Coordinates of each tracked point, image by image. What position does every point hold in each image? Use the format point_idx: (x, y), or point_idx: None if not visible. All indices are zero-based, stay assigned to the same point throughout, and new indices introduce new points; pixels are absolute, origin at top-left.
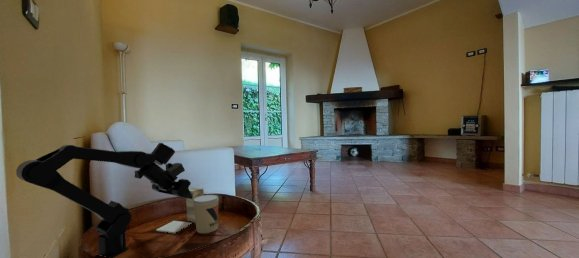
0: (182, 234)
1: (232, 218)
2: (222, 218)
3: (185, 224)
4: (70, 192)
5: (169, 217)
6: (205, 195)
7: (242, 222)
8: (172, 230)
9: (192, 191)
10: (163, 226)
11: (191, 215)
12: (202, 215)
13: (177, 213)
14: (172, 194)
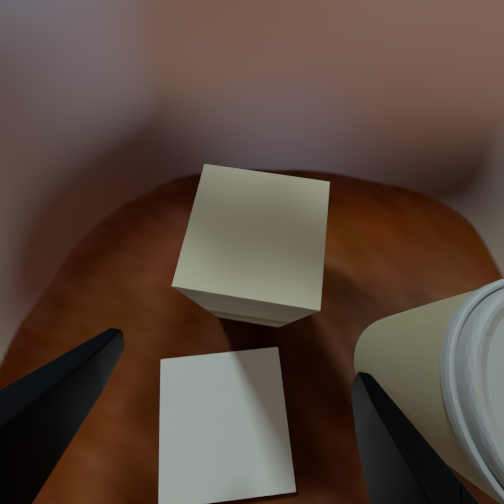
0: (343, 478)
1: (405, 226)
2: (363, 240)
3: (265, 378)
4: None
5: (89, 317)
6: (497, 320)
7: (482, 248)
8: (263, 476)
9: (308, 310)
10: (165, 450)
11: (256, 321)
12: None
13: (92, 260)
14: (78, 427)
